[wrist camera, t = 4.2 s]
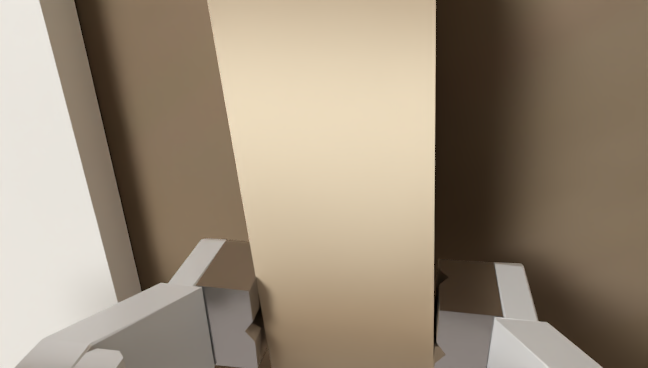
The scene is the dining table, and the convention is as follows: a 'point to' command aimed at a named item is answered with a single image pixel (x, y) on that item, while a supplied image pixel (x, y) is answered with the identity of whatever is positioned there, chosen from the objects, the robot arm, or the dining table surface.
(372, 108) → the scraper
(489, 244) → the dining table surface
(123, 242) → the tool board
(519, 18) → the dining table surface
